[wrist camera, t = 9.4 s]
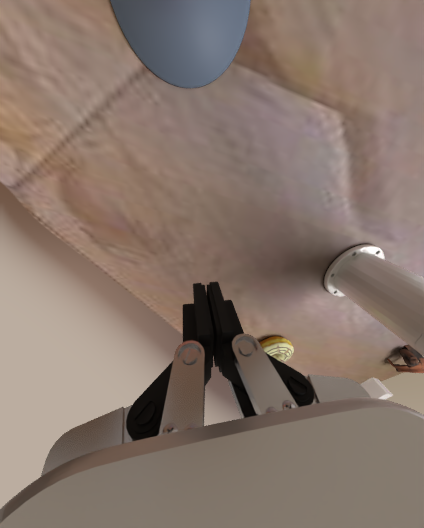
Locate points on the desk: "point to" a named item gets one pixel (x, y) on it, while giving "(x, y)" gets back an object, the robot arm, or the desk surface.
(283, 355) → the decorated donut
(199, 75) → the disc
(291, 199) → the desk surface
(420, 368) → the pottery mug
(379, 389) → the white cube
